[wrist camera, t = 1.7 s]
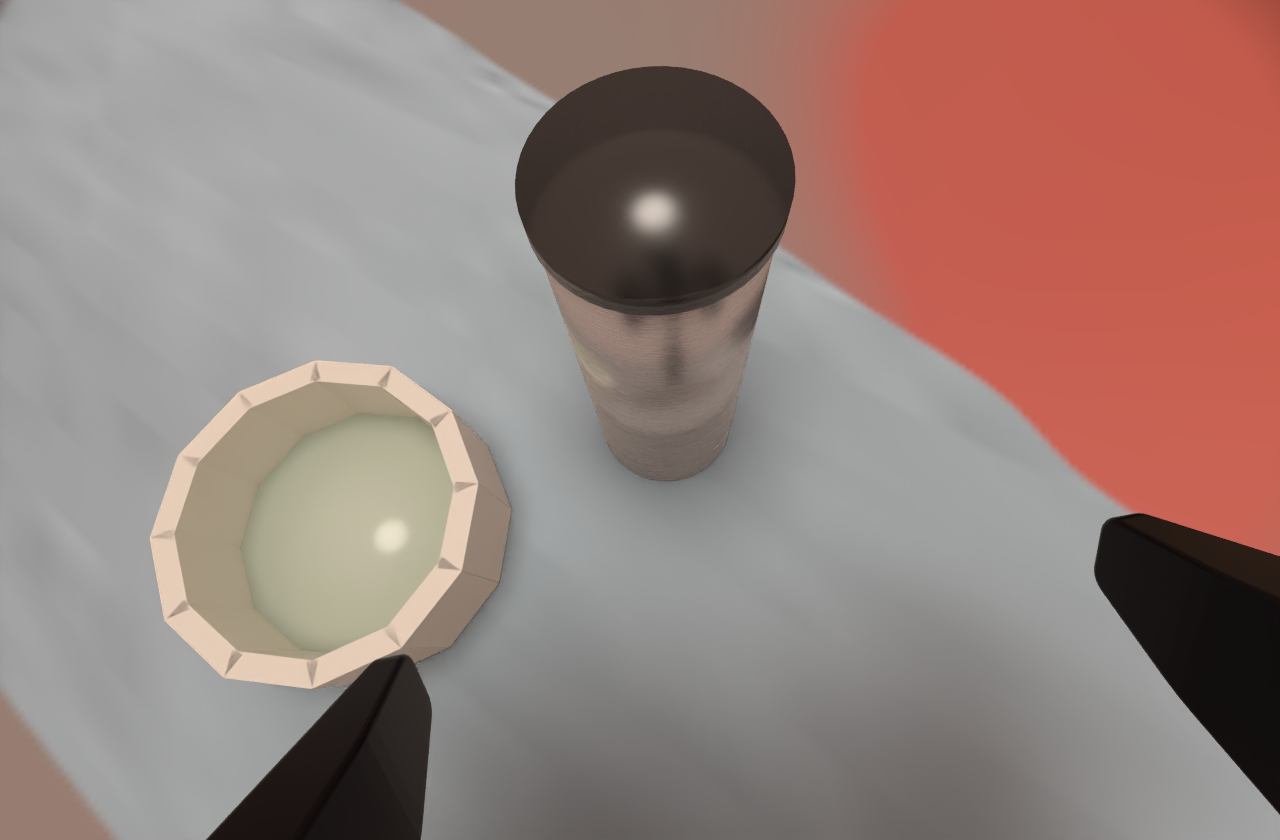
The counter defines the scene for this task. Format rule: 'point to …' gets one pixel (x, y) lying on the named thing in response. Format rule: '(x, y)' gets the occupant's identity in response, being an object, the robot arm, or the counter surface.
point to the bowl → (328, 527)
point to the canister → (658, 250)
